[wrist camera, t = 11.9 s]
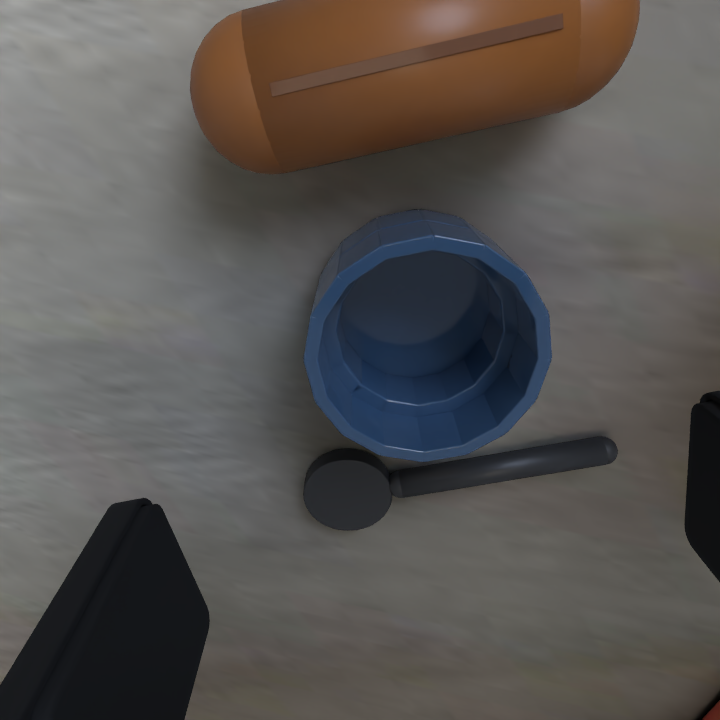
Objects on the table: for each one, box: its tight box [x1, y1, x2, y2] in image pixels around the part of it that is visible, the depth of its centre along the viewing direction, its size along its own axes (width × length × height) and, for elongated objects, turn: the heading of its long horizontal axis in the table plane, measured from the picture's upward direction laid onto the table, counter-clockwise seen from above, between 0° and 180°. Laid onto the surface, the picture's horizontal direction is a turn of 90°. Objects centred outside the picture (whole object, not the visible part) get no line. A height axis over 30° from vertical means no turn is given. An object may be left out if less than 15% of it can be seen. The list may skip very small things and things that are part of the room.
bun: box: [190, 0, 640, 174], centre depth 14 cm, size 12×4×4 cm, turn 102°
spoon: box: [303, 436, 618, 530], centre depth 21 cm, size 13×4×1 cm, turn 102°
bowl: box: [303, 209, 552, 462], centre depth 17 cm, size 7×7×5 cm
